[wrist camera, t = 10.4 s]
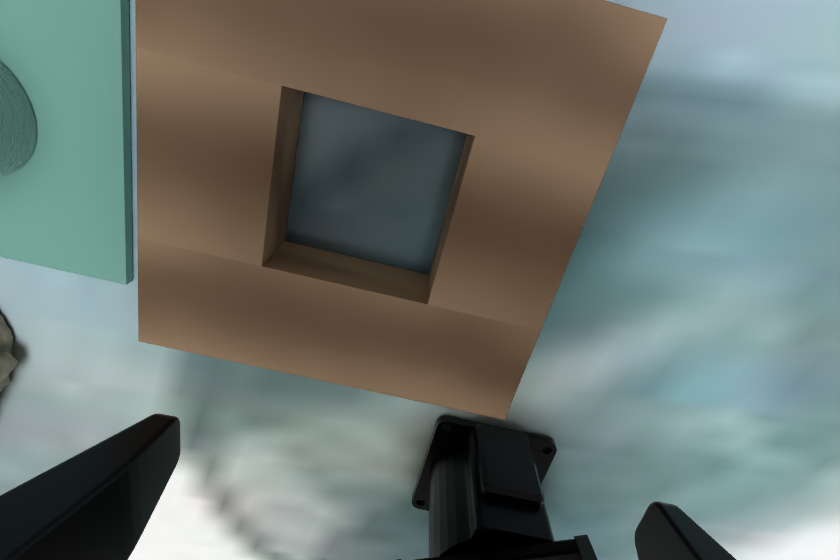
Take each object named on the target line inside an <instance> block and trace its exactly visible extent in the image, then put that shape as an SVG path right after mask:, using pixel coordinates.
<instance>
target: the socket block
mask: <svg viewBox="0 0 840 560" xmlns="http://www.w3.org/2000/svg"><path fill="white" fill-rule="evenodd" d="M666 21H667V18H664V17H660V16H657V15H653V14H650V13H646V12H643V11H639V10H636V9H632V8H629V7H625V6H622V5H619V4H615V3H612V2H608V1H605V0H136V101H137V211H138V322H139V341H140V342H145V343H149V344H154V345H159V346H163V347H168V348H173V349H177V350H182V351H187V352H191V353H196V354H201V355H205V356H210V357H215V358H219V359H224V360H229V361H233V362H238V363H243V364H247V365H252V366H256V367H261V368H266V369H270V370H275V371H280V372H284V373H289V374H294V375H298V376H303V377H308V378H312V379H317V380H322V381H326V382H331V383H336V384H340V385H345V386H350V387H354V388H359V389H364V390H368V391H373V392H378V393H382V394H387V395H391V396H396V397H401V398H405V399H410V400H415V401H419V402H424V403H429V404H433V405H438V406H443V407H447V408H452V409H457V410H461V411H466V412H471V413H475V414H480V415H485V416H489V417H494V418H499V419H503V420H505V417H506V415H507V412H508V410H509V407H510V405H511V403H512V400H513V398H514V395H515V393H516V390H517V388H518V385H519V383H520V380H521V378H522V375H523V373H524V371H525V368H526V366H527V363H528V361H529V358H530V356H531V353H532V351H533V348H534V346H535V343H536V341H537V339H538V336H539V334H540V331H541V329H542V326H543V324H544V321H545V319H546V316H547V314H548V311H549V309H550V307H551V304H552V302H553V299H554V297H555V294H556V292H557V289H558V287H559V284H560V282H561V279H562V277H563V275H564V272H565V270H566V267H567V265H568V262H569V260H570V257H571V255H572V252H573V250H574V247H575V245H576V243H577V240H578V238H579V235H580V233H581V230H582V228H583V225H584V223H585V220H586V218H587V215H588V213H589V211H590V208H591V206H592V203H593V201H594V198H595V196H596V193H597V191H598V188H599V186H600V183H601V181H602V179H603V176H604V174H605V171H606V169H607V166H608V164H609V161H610V159H611V156H612V154H613V151H614V149H615V147H616V144H617V142H618V139H619V137H620V134H621V132H622V129H623V127H624V124H625V122H626V119H627V117H628V115H629V112H630V110H631V107H632V105H633V102H634V100H635V97H636V95H637V92H638V90H639V88H640V85H641V83H642V80H643V78H644V75H645V73H646V70H647V68H648V65H649V63H650V60H651V58H652V56H653V53H654V51H655V48H656V46H657V43H658V41H659V38H660V36H661V33H662V31H663V28H664V26H665V24H666ZM304 92H308V93H312V94H316V95H320V96H323V97H327V98H331V99H335V100H339V101H343V102H347V103H350V104H354V105H358V106H362V107H366V108H370V109H373V110H377V111H381V112H385V113H389V114H393V115H397V116H400V117H404V118H408V119H412V120H416V121H420V122H423V123H427V124H431V125H435V126H439V127H443V128H447V129H450V130H454V131H458V132H462V133H466V134H467V136H466V140H465V143H464V147H463V151H462V154H461V158H460V161H459V165H458V169H457V172H456V176H455V180H454V183H453V187H452V191H451V194H450V198H449V202H448V205H447V209H446V212H445V216H444V220H443V223H442V227H441V231H440V234H439V238H438V242H437V245H436V249H435V253H434V256H433V260H432V263H431V267H430V271H429V274H428V275H427V274H423V273H419V272H415V271H410V270H406V269H402V268H398V267H393V266H389V265H385V264H381V263H376V262H372V261H368V260H364V259H360V258H355V257H351V256H347V255H343V254H338V253H334V252H330V251H326V250H321V249H317V248H313V247H309V246H304V245H300V244H296V243H292V242H287V241H285V234H286V227H287V219H288V211H289V204H290V196H291V188H292V181H293V173H294V165H295V157H296V150H297V142H298V134H299V127H300V119H301V111H302V104H303V96H304Z"/></svg>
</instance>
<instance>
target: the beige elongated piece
mask: <svg viewBox="0 0 840 560" xmlns="http://www.w3.org/2000/svg"><path fill="white" fill-rule="evenodd" d="M12 346H13V335H12V334H11V330H10V329H9V327H8V326H7V324H6V323H5V321H4V318H3V317H2V316H1V315H0V392H1V391H2V390H3V389H4V387H5V386H7V385H8V384H9V383H10V378H9V376H8V375H9V374H10V372H11V371H12V370H13V369H14V368H15V367H16V366H17V365H18V361H17V360H16V359H15V358H14V357H13V356H12V352H11V350H12Z"/></svg>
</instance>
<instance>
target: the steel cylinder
mask: <svg viewBox="0 0 840 560" xmlns="http://www.w3.org/2000/svg"><path fill="white" fill-rule="evenodd" d="M35 142H36V124H35V119H34V114H33V111H32V108H31V105H30V103H29V101H28V98H27V96H26V94H25V93H24V91H23V89H22V87H21V86H20V84H19V83H18V81H17V80H16V79H15V77H14V76H13V75H12V74H11V72H10V71H9V70H8V69H7V68H6V67H5V66H4V65H3V64H2V63H1V62H0V176H4V175H7V174H11V173H13V172H15V171H17V170H19V169H20V168H21V167H23V166H24V165H25V164H26V163H27V161H28V160H29V158H30V157H31V155H32V153H33V150H34V147H35Z"/></svg>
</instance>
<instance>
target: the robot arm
mask: <svg viewBox="0 0 840 560" xmlns="http://www.w3.org/2000/svg"><path fill="white" fill-rule="evenodd" d="M444 425H448V426H449V427H447V428H444V427H442V426H444ZM545 447H549V448H546V449H544V448H545ZM556 451H557V449H556V446H555V443H554V441H553V440H552V439H550V438H547V437H542V436H537V435H533V434H528V433H523V432H519V431H514V430H509V429H505V428H500V427H495V426H490V425H486V424H481V423H476V422H472V421H467V420H462V419H458V418H453V417H448V416H444V417H441V418H439V419H438V420H437V422H436V425H435V428H434V431H433V434H432V437H431V440H430V443H429V446H428V449H427V453H426V456H425V459H424V462H423V465H422V468H421V471H420V474H419V477H418V480H417V483H416V486H415V489H414V492H413V495H412V504H413V506H414V507H415V508H418V509H422V510H427V511H429V558H424V559H416V560H597V557H596V555H595V553H594V550H593V548H592V545H591V543H590V540H589V538H588V536H587V535H581V536H574V539H569V540H561V541H554V538H553V534H552V531H551V527H550V523H549V519H548V515H547V511H546V508H545V504H544V495H543V491H542V488H541V483H542V481H543V479H544V477H545V474H546V472H547V470H548V468H549V466H550V464H551V462H552V460H553V458H554V456H555V454H556ZM179 456H180V421H179V419H178V418H177V417H174V416H169V415H163V414H154V415H151V416H149V417H147V418H145V419H143V420H142V421H140V422H138V423H136V424H134V425H132V426H130V427H128V428H127V429H125V430H123V431H121V432H119V433H117V434H115V435H113V436H112V437H110V438H108V439H106V440H104V441H102V442H100V443H98V444H96V445H95V446H93V447H91V448H89V449H87V450H85V451H83V452H81V453H80V454H78V455H76V456H74V457H72V458H70V459H68V460H66V461H64V462H63V463H61V464H59V465H57V466H55V467H53V468H51V469H49V470H48V471H46V472H44V473H42V474H40V475H38V476H36V477H34V478H33V479H31V480H29V481H27V482H25V483H23V484H21V485H19V486H17V487H16V488H14V489H12V490H10V491H8V492H6V493H4V494H2V495H1V496H0V560H128V558H129V556H130V555H131V553H132V551H133V550H134V548H135V546H136V544H137V542H138V540H139V539H140V537H141V535H142V533H143V531H144V529H145V527H146V525H147V523H148V521H149V519H150V517H151V515H152V513H153V511H154V509H155V507H156V505H157V503H158V501H159V499H160V497H161V495H162V493H163V491H164V489H165V487H166V485H167V483H168V481H169V479H170V477H171V475H172V473H173V471H174V469H175V467H176V465H177V462H178V460H179ZM635 545H636V549H637V554H638V558H639V560H736V559H735V558H734V557H733V556H732V555H731V554H729V553H728V552H727V551H726V550H725V549H724V548H723V547H722V546H721V545H719V544H718V543H717V542H716V541H715V540H714V539H713V538H712V537H711V536H710V535H708V534H707V533H706V532H705V531H704V530H703V529H702V528H701V527H700V526H698V525H697V524H696V523H695V522H694V521H693V520H692V519H691V518H690V517H689V516H687V515H686V514H685V513H684V512H683V511H682V510H681V509H680V508H678V507H677V506H675V505H673V504H668V503H662V502H653V503H651V504H650V505H649V507H648V509H647V510H646V512H645V514H644V516H643V518H642V520H641V521H640V523H639V525H638V527H637V529H636V532H635ZM398 560H401V559H398Z"/></svg>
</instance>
